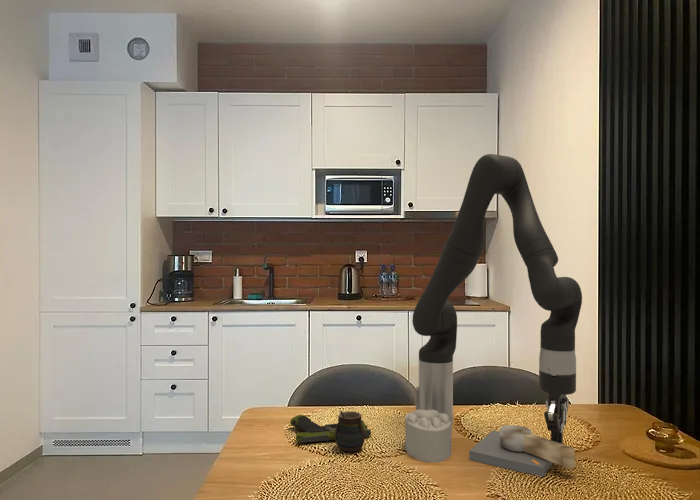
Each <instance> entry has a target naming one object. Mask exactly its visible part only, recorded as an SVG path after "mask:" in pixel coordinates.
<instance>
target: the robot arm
mask: <svg viewBox="0 0 700 500" xmlns="http://www.w3.org/2000/svg"><path fill="white" fill-rule="evenodd" d="M468 179H469V180H468V183H467V187H466V190H465V193H464V196H463V199H462V202H461V205H460V208H459V210H458V213H457V216H456V218H455V220H454V223H453V226H452V228H451V230H450V233H449V235H448V237H447V239H446V242H445V243H444V246H443V248H442V252H441V255H440V257H439V259H438V261H437V264H436V266H435V268H434V270H433V273H432V275H431V277H430V279H429V281H428V284H427V285H426V287H425V288H424V291H423V292H422V294H421V297H420V298H419V300H418V301H417V303H416V305H415V307H414V309H413V313H412V317H411V318H412V325H413V329H414V331H415V332H416V334H418V335H420V336H423V337H429V339H428V342H426V344H424V345H423V346H422V347H420V349H419V351H418V386H416V387H415V410H436V411H438V412H439V413H442V414H443V413H444V414H447V415H448V416H449V419H450V421H451V426H453V425H454V414H453V413H454V412H453V410H454V408H453V407H454V354H455V352H456V349H457V337H458V336H457V335H458V333H457V332H458V315H457V311H456V308H455V307H454V305H453V304H452V303H451V302H450V301H448V299H449V297H450V296H451V294H452V293H453V292H455V290H456V289H457V288H458V287H459V286H460V285H461V284H462V283H463V282H464V281H465V280H466V279H468V277H469V276H470V275H471V274H472V272H473V271H474V270H475V268H476V266H477V265H478V262H479V260H480V258H481V255H482V254H483V251H484V249H485V244H486V233H485V232H486V231H485V218H486V214H487V211H488V208H489V206H490V205H491V204H490V203H491V201H492V200H493V198H494V196H495V195H501V196H502V198H503V199H504V201H505V203H506V204H507V205H508V208H509V210H510V212H511V213H510V214H511V218H512V231H513V232H512V233H513V240H514V243H515V245H516V248H517V250H518V252H519V254H520V256H521V259H522V261H523V263H524V265H525V266H526V269H527V270H526V271H527V277H528V281H529V285H530V291H531V294H532V297H533V299H534V301H535V302H536V304H537V305H538V306H539V307H540V308H542V309H543V310H545V311H548V312H550V315H549V317H548V319H546V320H545V321H544V322H542V323H541V326H540V350H539V356H538V358H539V359H538V388H539V390H541V391H542V392H543V393H547V395H548V397H547V399H546V400H545V408H546V411H544V414H543V415H544V420H545V424H546V427H547V431H549V432H550V440H551V441H554V442H557V443H560V444H563V445H564V430H565V426H566V424H567V418H568V411H569V404H570V401H569V398H567V395H573V394H575V393H576V391H577V356H576V328H577V324H578V321H579V319H580V318H579V317H580V313H581V309H582V303H583V294H582V293H583V292H582V289H581V287H580V286H581V285H580V284H579V283H578V281H576V280H575V278H572V277H569V276H557V274H556V272H555V268H554V267H556V266H557V264H558V263H559V257H558V254H557V251H556V250H555V247H554V245H553V243H552V242H551V240H550V238H549V236H548V234H547V232H546V230H545V228H544V226H543V224H542V222H541V219H540V217H539V214H538V212H537V209H536V205H535V203H534V199H533V197H532V194H531V190H530V188H529V185H528V184H529V183H528V180H527V178H526V174H525V172H524V168H523V166H522V164H521V163H520V162H519V160H517V159H516V158H514V157H511V156H507V155H501V154H494V153H487V154H485V155H483V156H481V157H480V158H479V159H478V160H477V161H476V163H475V164H474V166H473V168H472V171H471V173H470V176H469V178H468Z"/></svg>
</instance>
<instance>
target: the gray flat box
mask: <svg viewBox="0 0 700 500" xmlns="http://www.w3.org/2000/svg"><path fill="white" fill-rule="evenodd" d="M468 460H469V461H473V462H476V463H477V462H478V463H481V464H486V465H489V466H495V467H496V468H497V467H498V468H503V469H506V470H510V471H513V472H518V473H523V472H524V473H523V474H527V473H529V474H528V475H531V474H534V475H533V476H535V475H538V476H537V477H539V476H541V477H540V478H544V477H545V475H546V474H547V473H548V471H549V470H550V468H551V467H552V466H553V464H554V463H553V462H551V461H548V460H545V459H543V458H540V457H538V456H535V455H533V454H530V453H527V452H525V451H523V452H519V451H511V450H507V449H505V448H503V447H501V446H500V430H499V431H498V430H492V431H491V432H489V433H488V434H487V435H485V437H483V438H482V439H481V440H480V441H479V442H477V444H475V445H474V446H473V447H472V448H471V449H470V450H469V451H468ZM550 466H551V467H550ZM549 467H550V468H549ZM548 469H549V470H548ZM547 470H548V471H547ZM545 473H546V474H545ZM543 476H544V477H543Z"/></svg>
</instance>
